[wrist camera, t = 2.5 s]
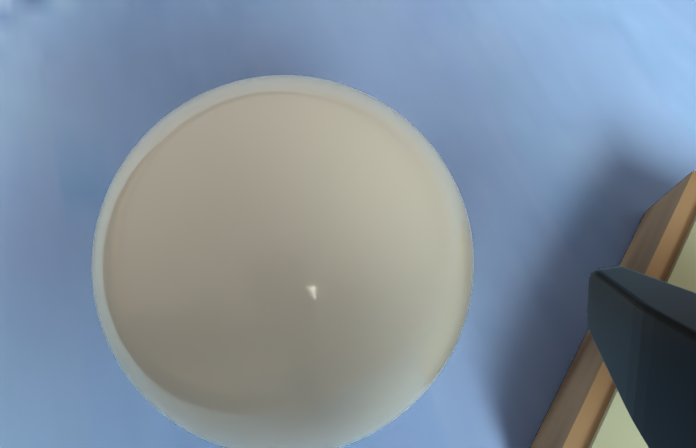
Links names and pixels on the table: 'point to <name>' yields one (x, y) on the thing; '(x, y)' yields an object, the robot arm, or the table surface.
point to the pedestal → (588, 366)
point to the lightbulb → (282, 264)
